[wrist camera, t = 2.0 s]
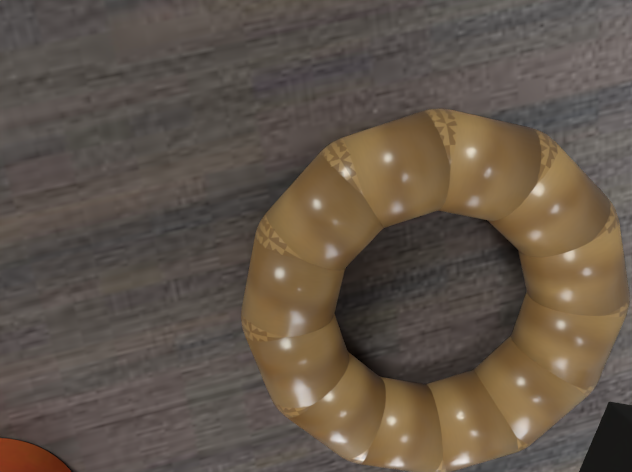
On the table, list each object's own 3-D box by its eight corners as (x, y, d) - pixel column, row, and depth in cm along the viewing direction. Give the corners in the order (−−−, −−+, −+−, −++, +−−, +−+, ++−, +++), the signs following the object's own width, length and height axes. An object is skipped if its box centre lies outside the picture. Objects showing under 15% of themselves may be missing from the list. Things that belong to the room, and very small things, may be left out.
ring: (286, 74, 16) (284, 71, 13) (645, 153, 17) (716, 168, 14) (224, 406, 19) (212, 463, 16) (526, 452, 20) (564, 512, 18)
